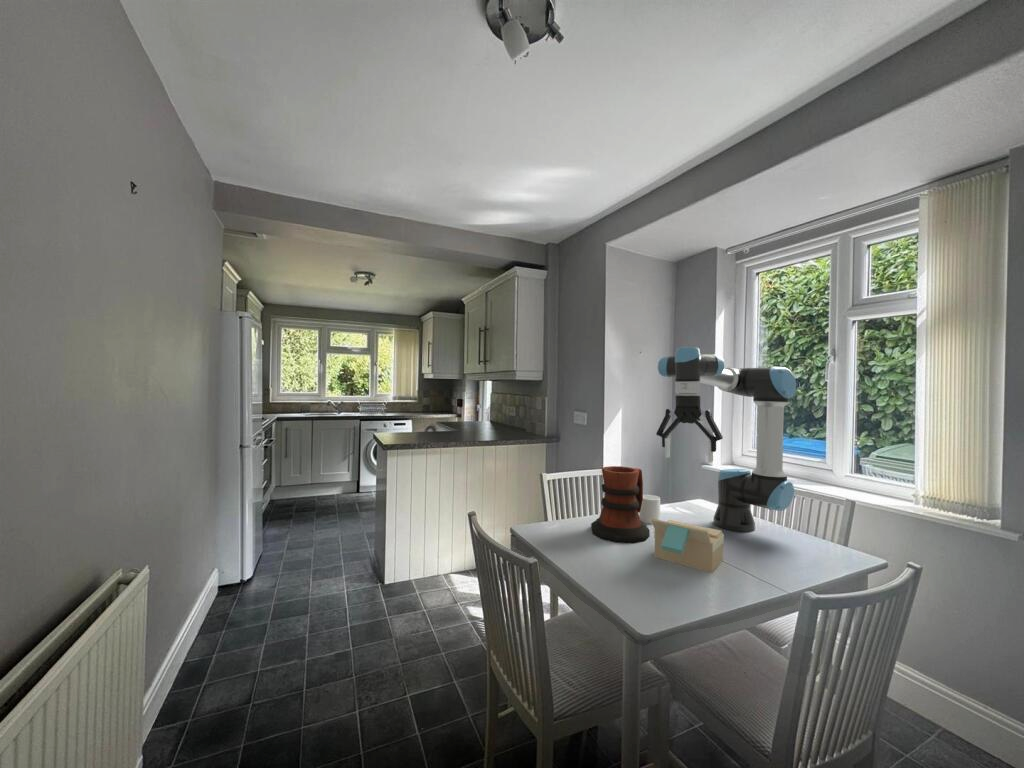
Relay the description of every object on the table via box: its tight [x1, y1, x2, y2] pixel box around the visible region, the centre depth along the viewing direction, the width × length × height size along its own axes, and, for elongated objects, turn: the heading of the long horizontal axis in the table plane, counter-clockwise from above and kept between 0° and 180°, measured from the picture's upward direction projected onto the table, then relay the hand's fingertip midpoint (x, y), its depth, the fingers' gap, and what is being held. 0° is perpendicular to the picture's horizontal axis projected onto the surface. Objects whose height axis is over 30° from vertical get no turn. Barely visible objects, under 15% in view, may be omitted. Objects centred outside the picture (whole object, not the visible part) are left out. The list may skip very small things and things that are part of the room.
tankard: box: [590, 465, 651, 544], centre depth 165 cm, size 22×25×25 cm
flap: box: [652, 519, 711, 554], centre depth 131 cm, size 6×17×9 cm
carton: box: [653, 519, 725, 574], centre depth 140 cm, size 12×18×10 cm, turn 50°
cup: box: [638, 494, 661, 525], centre depth 180 cm, size 8×12×10 cm
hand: (688, 459), depth 138 cm, fingers open, 13 cm apart
